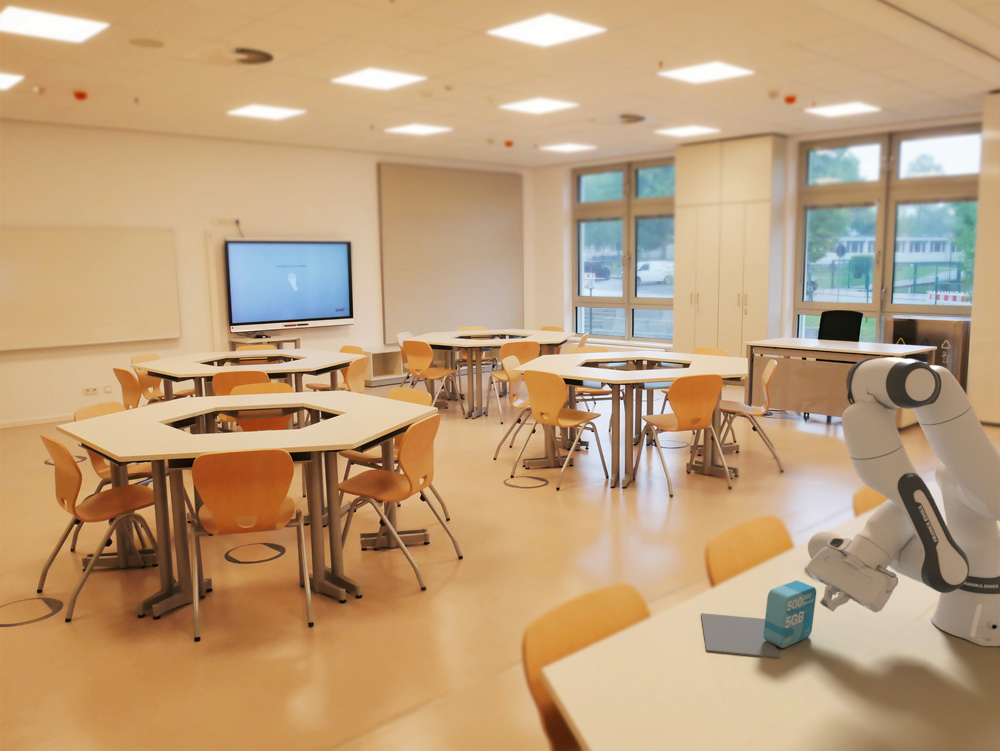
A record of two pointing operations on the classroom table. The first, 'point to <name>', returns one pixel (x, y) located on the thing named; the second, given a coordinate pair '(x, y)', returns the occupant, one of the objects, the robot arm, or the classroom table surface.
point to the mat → (737, 636)
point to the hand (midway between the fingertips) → (826, 607)
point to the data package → (789, 613)
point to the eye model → (820, 541)
